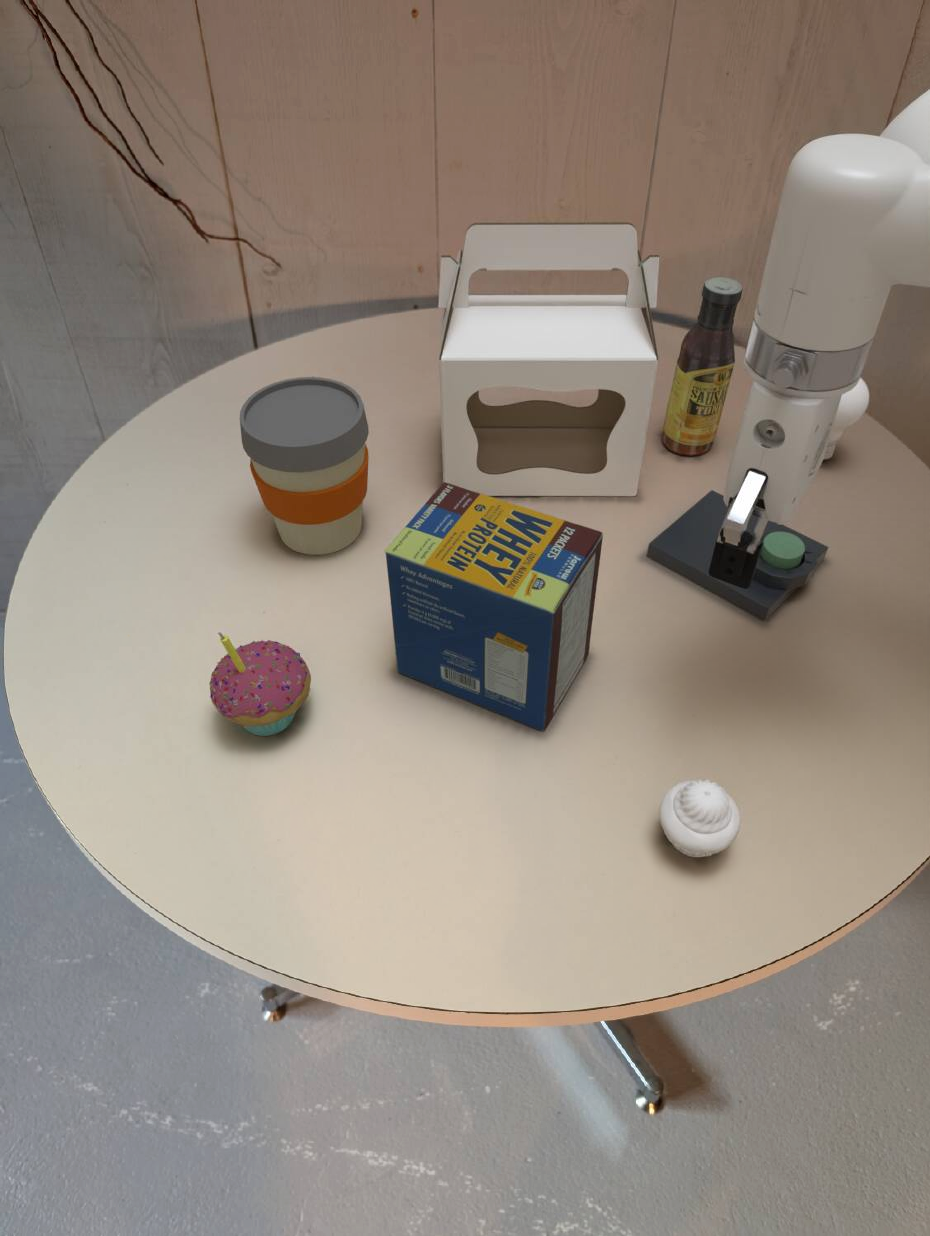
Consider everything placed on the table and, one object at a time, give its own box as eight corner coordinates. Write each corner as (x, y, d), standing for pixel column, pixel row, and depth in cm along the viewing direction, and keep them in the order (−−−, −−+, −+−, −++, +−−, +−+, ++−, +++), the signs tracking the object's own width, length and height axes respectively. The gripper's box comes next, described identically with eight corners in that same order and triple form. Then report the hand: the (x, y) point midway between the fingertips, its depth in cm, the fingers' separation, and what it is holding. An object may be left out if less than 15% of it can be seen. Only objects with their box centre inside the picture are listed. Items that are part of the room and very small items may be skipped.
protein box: (447, 602, 91) (442, 478, 80) (590, 655, 86) (606, 531, 75) (394, 673, 85) (380, 550, 74) (544, 735, 80) (555, 612, 68)
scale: (832, 564, 94) (841, 539, 92) (773, 627, 88) (781, 601, 86) (708, 502, 101) (714, 477, 99) (646, 556, 95) (650, 531, 93)
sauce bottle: (679, 464, 106) (711, 305, 92) (650, 435, 110) (676, 279, 96) (726, 450, 108) (764, 292, 94) (696, 422, 112) (728, 267, 98)
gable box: (626, 429, 111) (659, 195, 91) (638, 497, 102) (678, 254, 82) (445, 428, 112) (438, 195, 91) (441, 497, 103) (432, 254, 82)
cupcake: (242, 768, 78) (212, 679, 69) (206, 702, 83) (174, 611, 74) (332, 725, 81) (314, 634, 72) (292, 663, 86) (271, 571, 77)
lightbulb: (780, 456, 107) (805, 374, 99) (810, 434, 110) (836, 353, 102) (828, 480, 104) (857, 397, 96) (857, 457, 107) (888, 375, 99)
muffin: (746, 860, 71) (766, 813, 66) (676, 885, 70) (692, 838, 65) (705, 796, 75) (722, 747, 70) (639, 819, 74) (651, 770, 69)
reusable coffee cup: (266, 574, 94) (238, 456, 83) (260, 499, 103) (234, 383, 92) (386, 557, 96) (374, 439, 85) (370, 484, 104) (357, 368, 93)
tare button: (808, 555, 91) (812, 543, 90) (788, 575, 89) (792, 564, 88) (772, 537, 93) (776, 525, 92) (752, 557, 91) (755, 545, 90)
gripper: (825, 431, 53) (760, 630, 65) (897, 306, 63) (829, 499, 75) (703, 395, 56) (663, 593, 68) (791, 280, 66) (742, 471, 78)
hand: (750, 543), depth 72 cm, fingers open, 9 cm apart
